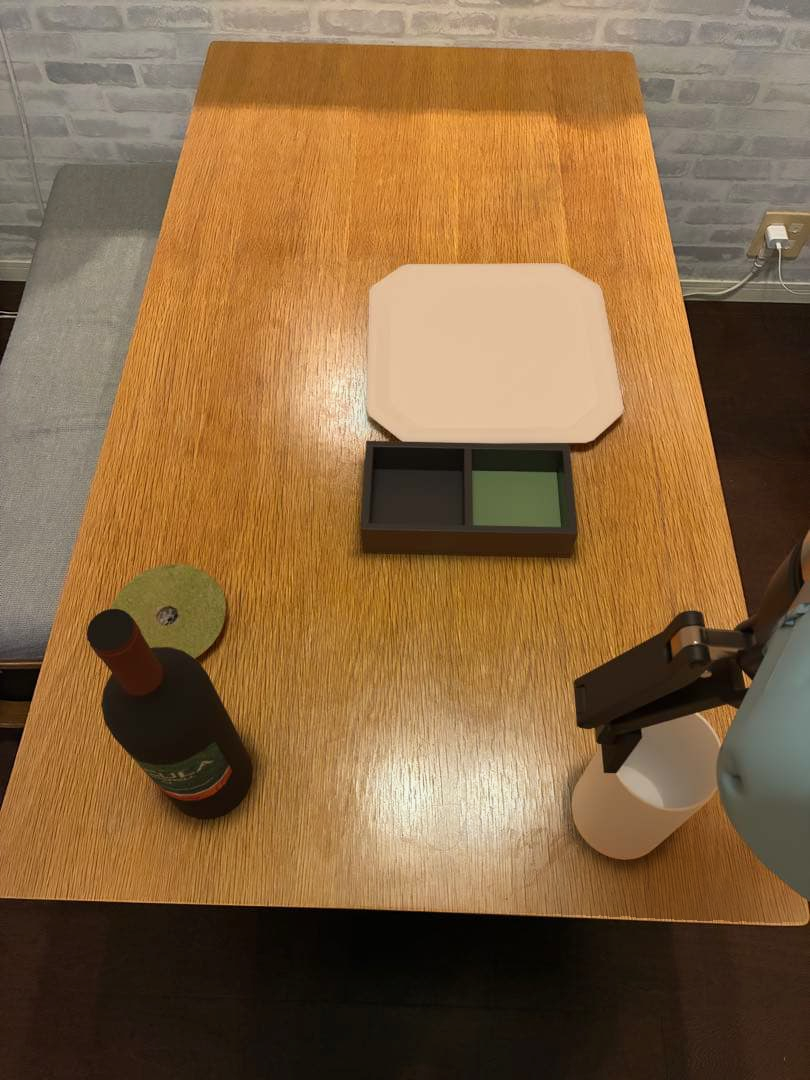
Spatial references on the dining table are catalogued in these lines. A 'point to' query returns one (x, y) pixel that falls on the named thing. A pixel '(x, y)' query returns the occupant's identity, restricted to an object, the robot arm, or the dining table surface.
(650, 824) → the cup
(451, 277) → the plate
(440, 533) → the holder
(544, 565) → the dining table surface
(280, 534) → the dining table surface
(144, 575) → the mat
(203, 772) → the wine bottle
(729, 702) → the robot arm
